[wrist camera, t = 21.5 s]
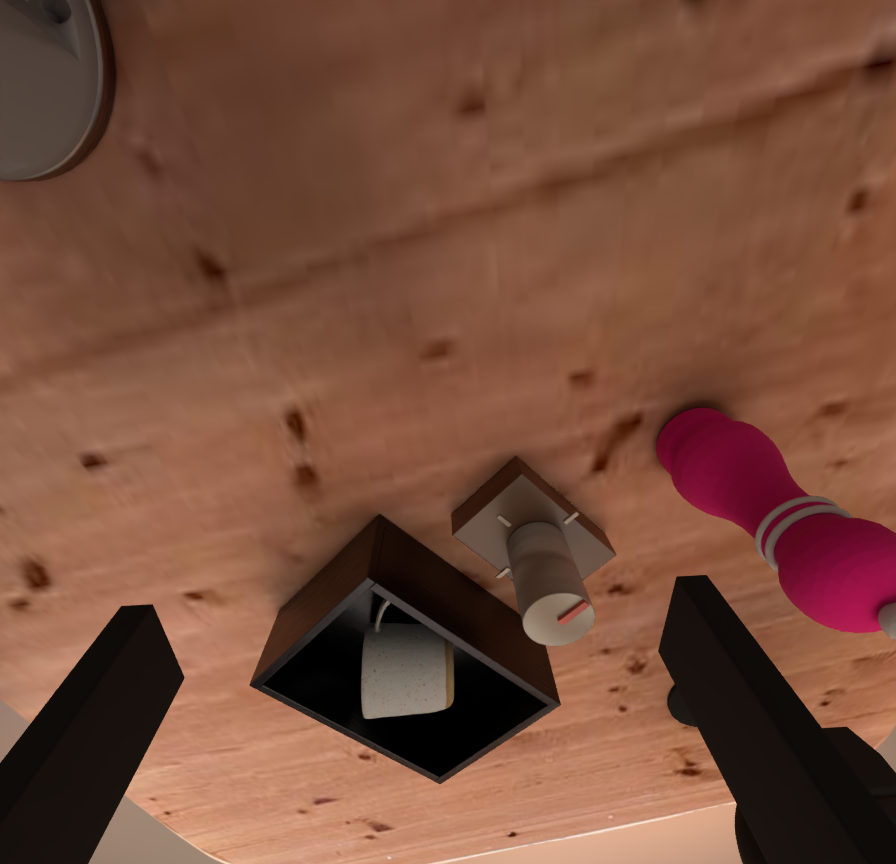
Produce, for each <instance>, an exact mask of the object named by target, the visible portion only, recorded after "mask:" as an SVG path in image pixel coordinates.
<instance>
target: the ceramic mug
mask: <svg viewBox="0 0 896 864" xmlns="http://www.w3.org/2000/svg"><path fill="white" fill-rule="evenodd" d="M389 604H390V602H389V601H387V600H386V599H384V600H383V601H382V603H381V605H380V608H379V610H378V614H377V617H376V623H369V624H368V625H367V627H366V631H365V636H364V643H363V654H362V676H361V699H362V711H363V716H364V718H365V719H373V718H381V717H390V716H402V715H410V714H422V713H431V712H436V711H440V710H443V709H446V708H449V707H450V706H451V704H452V703H453V700H454V661H453V644H452V642H450V641H449V640H447V639H446V638H444V637H443V636H441V635H439V634H438V633H436V632H435V631H433V630H432V629H430V628H429V627H427V626H426V625H424V624H403V623H381V622H380V620H381V617H382V615H383V613H384V610H385V609H386V607H387V606H388V605H389Z"/></svg>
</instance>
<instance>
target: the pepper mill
mask: <svg viewBox="0 0 896 864" xmlns="http://www.w3.org/2000/svg"><path fill="white" fill-rule="evenodd" d="M656 452H657V457H658V459H659V461H660V463H661V464H662V466H663V467H664V468H665V469H666V470H667V471H668V472H669V473H670V474H671V476H672V481H673V484H674V486H675V488H676V489H677V491H678V492H679V493H680V495H681V496H682V497H683V498H684V499H686V500H687V501H688V502H689V503H690V504H691V505H693V506H694V507H696V508H698V509H699V510H701V511H703V512H705V513H708V514H710V515H713V516H717V517H720V518H724V519H727V520H729V521H732V522H734V523H735V524H737V525H739V526H740V527H742V528H743V529H744V530H746V531H747V532H748V533H749V534H750V535H751V536H752V537H753V538H754V539H755V547H756V550H757V552H758V554H759V555H760V556H761V557H762V558H763V559H764V560H765V561H767V562H768V564H769V565H770V567H771V568H772V569H773V570H775V571H777V572H778V576H779V582H780V584H781V587H782V589H783V590H784V592H785V594H786V596H787V597H788V598H789V599H790V600H791V602H792V603H793V604H794V605H795V606H796V607H797V608H799V609H800V610H801V611H802V612H803V613H804V614H805V615H807V616H808V617H810V618H811V619H813V620H814V621H816V622H818V623H820V624H822V625H824V626H827V627H829V628H832V629H836V630H839V631H844V632H853V633H868V632H876V631H880V630H883V631H884V632H885V633H886V634H887V635H888V636H889V637H891V638H892V639H894V640H896V533H894V532H893V531H891V530H889V529H888V528H886V527H884V526H883V525H881V524H879V523H875V522H872V521H868V520H864V519H860V518H853V517H852V516H851V514H849V513H848V512H847V511H846V510H844V509H842V508H839V507H838V505H837V504H836V503H834V502H833V501H831V500H829V499H827V498H824V497H819V496H809V495H808V494H807V493H806V492H804V491H803V490H802V489H801V488H800V487H799V486H798V485H797V484H796V482H795V481H794V480H793V478H792V477H791V475H790V474H789V471H788V469H787V466H786V464H785V462H784V459H783V457H782V455H781V453H780V451H779V450H778V448H777V447H776V445H775V444H774V443H773V441H772V440H771V439H769V438H768V437H767V436H766V435H765V434H764V433H763V432H761V431H760V430H759V429H758V428H756V427H754V426H753V425H750V424H747V423H744V422H741V421H733V420H731V419H730V418H728V417H727V416H725V415H724V414H723V413H721V412H719V411H717V410H715V409H711V408H694V409H690V410H687V411H684V412H682V413H680V414H679V415H677V416H675V417H674V418H673V419H672V420H671V421H669V422H668V423H667V424H666V426H665V427H664V428H663V430H662V431H661V433H660V435H659V437H658V441H657V447H656Z"/></svg>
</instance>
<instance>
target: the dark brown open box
mask: <svg viewBox="0 0 896 864" xmlns="http://www.w3.org/2000/svg"><path fill="white" fill-rule="evenodd" d="M384 599H386V600H387V601H389V602H390V604H389V605H388V606H387V607H386V609H385V610H384V613H383V615H382V617H381V620H380V622H381V623H403V624H424V625H426V626H427V627H429V628H430V629H432V630H433V631H435V632H436V633H438V634H439V635H441V636H443V637H444V638H446V639H447V640H449V641H450V642H452V644H453V661H454V700H453V703H452V704H451V706H450V707H449V708H446V709H443V710H440V711H436V712H431V713H422V714H410V715H402V716H390V717H381V718H373V719H365V718H364V716H363V711H362V699H361V676H362V654H363V643H364V636H365V631H366V627H367V625H368V624H369V623H376V617H377V614H378V610H379V608H380V605H381V603H382V601H383V600H384ZM250 686H251V687H253V688H255V689H258V690H259V691H261V692H263V693H265V694H267V695H269V696H271V697H272V698H274V699H276V700H278V701H280V702H282V703H284V704H286V705H288V706H290V707H292V708H294V709H296V710H298V711H300V712H301V713H303V714H305V715H307V716H309V717H311V718H313V719H315V720H317V721H319V722H321V723H323V724H325V725H327V726H329V727H330V728H332V729H334V730H336V731H338V732H340V733H342V734H344V735H346V736H348V737H350V738H352V739H354V740H356V741H358V742H359V743H361V744H363V745H365V746H367V747H369V748H371V749H373V750H375V751H377V752H379V753H381V754H383V755H385V756H387V757H389V758H390V759H392V760H394V761H396V762H398V763H400V764H402V765H404V766H406V767H408V768H410V769H412V770H414V771H416V772H418V773H419V774H421V775H423V776H425V777H427V778H429V779H431V780H433V781H434V782H436V783H438V784H441V783H443V782H444V781H446V780H448V779H449V778H451V777H452V776H454V775H455V774H457V773H458V772H460V771H461V770H463V769H464V768H466V767H467V766H469V765H470V764H472V763H473V762H475V761H476V760H478V759H479V758H481V757H482V756H484V755H486V754H487V753H489V752H490V751H492V750H493V749H495V748H496V747H498V746H499V745H501V744H502V743H504V742H505V741H507V740H508V739H510V738H511V737H513V736H514V735H516V734H517V733H519V732H520V731H522V730H523V729H525V728H527V727H528V726H530V725H531V724H533V723H534V722H536V721H537V720H539V719H540V718H542V717H543V716H545V715H546V714H548V713H549V712H551V711H552V710H554V709H555V708H557V707H558V706H560V705H561V704H560V700H559V696H558V692H557V688H556V684H555V680H554V677H553V673H552V669H551V665H550V661H549V657H548V653H547V649H546V645H543V644H540V643H537V642H535V641H534V640H532V639H531V638H530V637H529V636H528V635H527V634H526V632H525V630H524V628H523V624H522V619H521V616H520V615H519V614H518V613H516V612H515V611H514V610H512V609H511V608H509V607H508V606H507V605H505V604H504V603H502V602H501V601H500V600H498V599H497V598H495V597H494V596H493V595H491V594H490V593H489V592H487V591H486V590H484V589H483V588H482V587H480V586H479V585H477V584H476V583H475V582H473V581H472V580H470V579H469V578H468V577H466V576H465V575H464V574H462V573H461V572H459V571H458V570H457V569H455V568H454V567H452V566H451V565H450V564H448V563H447V562H445V561H444V560H443V559H441V558H440V557H439V556H437V555H436V554H434V553H433V552H432V551H430V550H429V549H427V548H426V547H425V546H423V545H422V544H420V543H419V542H418V541H416V540H415V539H413V538H412V537H411V536H409V535H408V534H407V533H405V532H404V531H402V530H401V529H400V528H398V527H397V526H395V525H394V524H393V523H391V522H390V521H388V520H387V519H386V518H384V517H383V516H382V515H380V514H379V515H378V516H377V517H376V518H375V519H374V520H373V521H372V522H371V523H370V524H369V525H368V526H367V527H366V528H365V529H363V530H362V531H361V532H360V533H359V534H358V535H357V536H356V537H355V538H354V539H353V540H352V541H351V542H350V543H349V544H348V545H347V546H346V547H345V548H344V549H343V550H342V551H341V552H340V553H339V554H338V555H337V556H336V557H335V558H334V559H332V560H331V561H330V562H329V563H328V564H327V565H326V566H325V567H324V568H323V569H322V570H321V571H320V572H319V573H318V574H317V575H316V576H315V577H314V578H313V579H312V580H311V581H310V582H309V583H308V584H307V585H306V586H305V587H304V588H303V589H301V590H300V591H299V592H298V593H297V594H296V595H295V596H294V597H293V598H292V599H291V600H290V601H289V602H288V603H287V604H286V605H285V606H284V607H283V608H282V609H281V610H280V611H279V612H278V615H277V617H276V620H275V623H274V625H273V628H272V630H271V633H270V635H269V638H268V640H267V643H266V645H265V647H264V650H263V652H262V655H261V657H260V660H259V662H258V665H257V667H256V670H255V672H254V675H253V677H252V680H251V682H250Z"/></svg>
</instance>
